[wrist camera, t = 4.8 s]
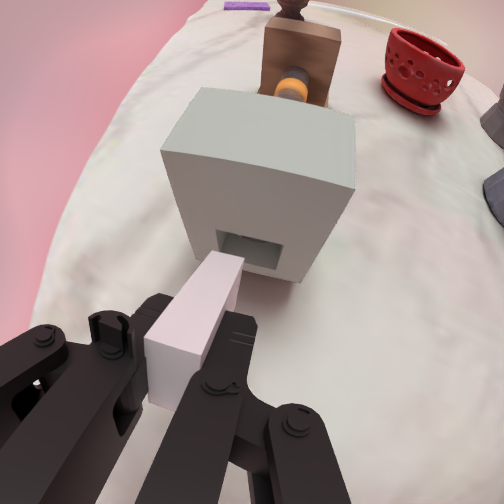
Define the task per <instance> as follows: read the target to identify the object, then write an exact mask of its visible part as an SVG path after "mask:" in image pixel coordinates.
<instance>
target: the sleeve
mask: <svg viewBox="0 0 504 504" xmlns="http://www.w3.org/2000/svg"><path fill="white" fill-rule="evenodd" d="M160 152H161V155H162V158H163V162H164V165H165V168H166V171H167V175H168V178H169V181H170V184H171V187H172V190H173V193H174V197H175V200H176V203H177V206H178V209H179V212H180V215H181V218H182V221H183V223H184V226H185V229H186V232H187V235H188V238H189V241H190V243H191V246H192V249H193V252H194V255H195V257H196V259H199V260H203V261H204V260H205V258H206V257H207V256H208V255H209V253H210V252H211V251H216V252H221V253H225V254H229V255H234V256H238V257H242V258H245V259H244V264H243V269H242V270H244V271H248V272H252V273H257V274H261V275H265V276H269V277H274V278H278V279H282V280H287V281H291V282H295V283H300V282H301V281H302V279H303V277H304V276H305V274H306V273H307V271H308V269H309V268H310V266H311V265H312V263H313V261H314V260H315V258H316V256H317V255H318V253H319V252H320V250H321V248H322V247H323V245H324V243H325V242H326V240H327V238H328V237H329V235H330V233H331V231H332V230H333V228H334V226H335V225H336V223H337V221H338V219H339V218H340V216H341V214H342V212H343V211H344V209H345V207H346V205H347V204H348V202H349V200H350V198H351V197H352V195H353V193H354V191H355V186H356V147H355V118H354V116H353V115H349V114H346V113H342V112H339V111H335V110H332V109H328V108H324V107H320V106H316V105H312V104H308V103H303V102H299V101H294V100H289V99H284V98H279V97H274V96H268V95H262V94H256V93H249V92H242V91H234V90H225V89H216V88H204V87H201V89H200V90H199V92H198V93H197V94H196V96H195V97H194V99H193V100H192V101H191V103H190V104H189V106H188V107H187V109H186V110H185V111H184V113H183V114H182V116H181V117H180V119H179V120H178V122H177V123H176V125H175V127H174V128H173V130H172V131H171V133H170V134H169V136H168V138H167V139H166V141H165V142H164V144H163V146H162V147H161V149H160ZM237 234H238V235H237ZM239 235H243V236H247V237H252V238H256V239H260V240H265V241H269V242H267V243H258V242H253V241H249V240H246V239H244V238H242V237H240V236H239Z"/></svg>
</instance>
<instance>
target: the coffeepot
mask: <svg viewBox="0 0 504 504" xmlns="http://www.w3.org/2000/svg"><path fill="white" fill-rule="evenodd" d="M480 122H481V125H482V127H483V129H484V130H485V131H486V133H487V134H488V135H489V136H490V137H491V139H492V140H493V141H494V142H496V143H497V144H498V145H499V146H500V147H502V148H504V85H503V88H502V90H501V93H500V100H499V101H498V103H495V104H494V105H493V106H492V107H491V108H490V109H489V110H488V111H487V112H486V113H485V114H484V115H483V116H482V117H481V118H480Z"/></svg>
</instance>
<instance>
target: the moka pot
mask: <svg viewBox="0 0 504 504" xmlns="http://www.w3.org/2000/svg"><path fill="white" fill-rule="evenodd" d="M484 190H485V195H486V198H487V201H488V203H489V206H490V208H491V210H492V211H493V213H494V215H495V216H496V218H497V219H498V221H499V222H500V223H501V224H502V225H503V226H504V168H502V169H501V170H499V171H498V172H496V173H495V174H493V175H492V176H490V177H489V178H487V179H486V180H485V181H484Z"/></svg>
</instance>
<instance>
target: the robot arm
mask: <svg viewBox="0 0 504 504" xmlns="http://www.w3.org/2000/svg"><path fill="white" fill-rule="evenodd" d="M244 259H245V258H242V257H238V256H234V255H229V254H225V253H221V252H216V251H211V252H210V253H209V255H208V256H207V257H206V258H205V260H204V261H203V262H202V263H201V265H200V266H199V267H198V268H197V269H196V271H195V272H194V273H193V274H192V276H191V277H190V278H189V280H188V281H187V282H186V283H185V285H184V286H183V287H182V288H181V290H180V291H179V292H178V293H177V295H176V296H175V297H171V296H168V295H164V294H161V293H158V294H156V295H154V296H151V297H149V298H148V299H147V300H146V301H145V302H144V303H143V304H142V305H141V307H139V308H138V309H137V310H136V311H135V314H133V315H132V316H131V317H129V316H127V315H126V314H124V313H122V312H118V311H113V310H109V311H100V312H96V313H94V314H92V315H91V316H89V317H88V320H89V326H90V332H91V338H92V342H91V344H90V345H85V344H79V343H73V342H68V341H66V338H65V334H64V333H63V331H62V330H61V329H60V328H58V327H57V326H55V325H50V324H45V325H39V326H36V327H34V328H32V329H30V330H28V331H26V332H25V333H23V334H21V335H19V336H18V337H16V338H14V339H12V340H10V341H9V342H7V343H5V344H4V345H2V346H0V504H95V502H96V500H97V498H98V497H99V495H100V493H101V491H102V489H103V487H104V485H105V483H106V481H107V479H108V477H109V475H110V473H111V471H112V469H113V467H114V466H115V464H116V462H117V460H118V458H119V456H120V454H121V452H122V450H123V448H124V447H125V445H126V443H127V441H128V439H129V437H130V435H131V433H132V432H133V430H134V428H135V426H136V424H137V422H138V420H139V419H140V417H141V414H142V410H143V408H142V401H143V399H144V398H145V396H146V394H147V392H148V400H149V402H150V403H153V404H155V405H158V406H161V407H164V408H167V409H170V410H173V411H175V414H174V416H173V418H172V420H171V423H170V425H169V427H168V429H167V432H166V434H165V436H164V438H163V441H162V443H161V445H160V447H159V450H158V452H157V454H156V456H155V459H154V461H153V463H152V465H151V468H150V470H149V472H148V474H147V477H146V479H145V481H144V483H143V486H142V488H141V490H140V492H139V495H138V497H137V499H136V501H135V504H218V500H219V496H220V492H221V488H222V484H223V480H224V476H225V472H226V468H227V464H228V461H229V462H231V463H233V464H235V465H237V466H239V467H241V468H243V469H245V470H247V474H248V482H249V490H250V498H251V504H351V501H350V498H349V495H348V492H347V489H346V486H345V483H344V480H343V477H342V474H341V471H340V468H339V465H338V462H337V459H336V456H335V454H334V451H333V448H332V445H331V442H330V439H329V436H328V433H327V430H326V427H325V424H324V422H323V420H322V419H321V417H320V415H319V414H318V413H316V412H315V411H314V410H313V409H312V408H309V407H307V406H304V405H302V404H294V403H290V404H284V405H281V406H279V407H278V408H275V407H273V406H271V405H268V404H266V403H264V402H263V401H261V400H259V399H258V398H257V397H255V396H254V395H253V394H252V392H251V391H250V389H249V388H248V385H247V374H248V369H249V365H250V360H251V355H252V351H253V346H254V341H255V337H256V332H257V327H258V326H257V324H256V322H255V319H254V317H252V316H248V315H244V314H239V313H235V312H234V310H235V305H236V300H237V295H238V290H239V284H240V279H241V274H242V269H243V264H244ZM36 380H39V382H40V384H39V385H33V382H35V381H36Z"/></svg>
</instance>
